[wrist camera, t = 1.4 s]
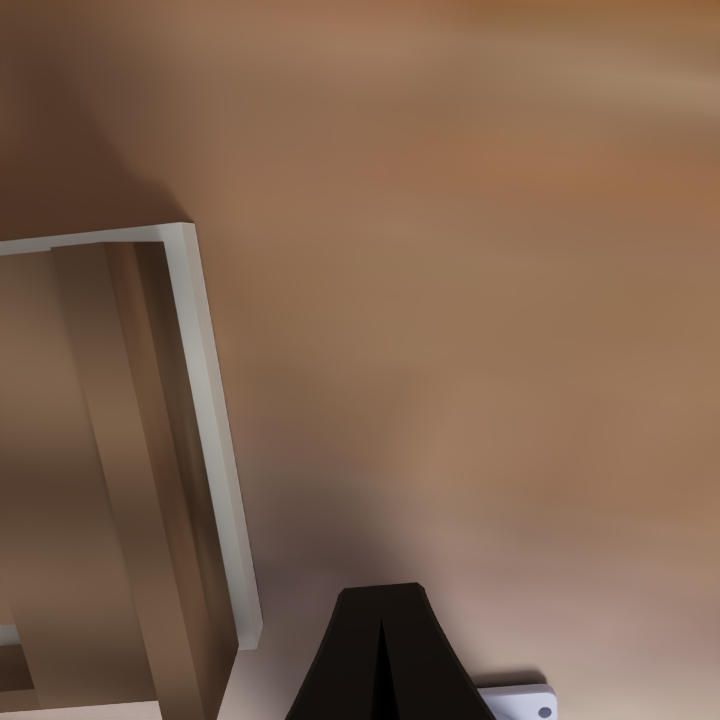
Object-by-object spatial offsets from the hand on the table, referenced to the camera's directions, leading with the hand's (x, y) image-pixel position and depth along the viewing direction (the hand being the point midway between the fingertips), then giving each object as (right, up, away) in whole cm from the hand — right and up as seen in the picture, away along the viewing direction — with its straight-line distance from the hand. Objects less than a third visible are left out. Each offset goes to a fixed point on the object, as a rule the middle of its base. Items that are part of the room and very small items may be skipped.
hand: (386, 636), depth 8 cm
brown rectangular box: (-10, +1, +8) cm, 13 cm away
